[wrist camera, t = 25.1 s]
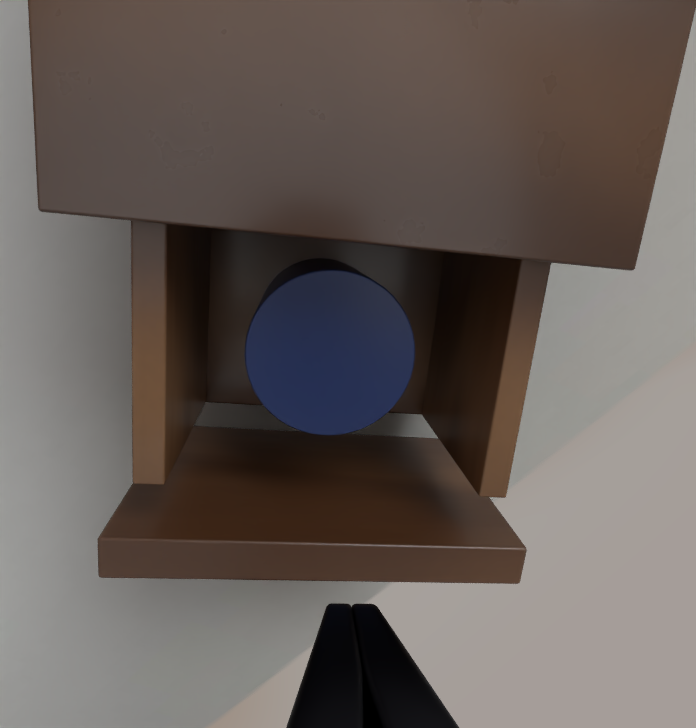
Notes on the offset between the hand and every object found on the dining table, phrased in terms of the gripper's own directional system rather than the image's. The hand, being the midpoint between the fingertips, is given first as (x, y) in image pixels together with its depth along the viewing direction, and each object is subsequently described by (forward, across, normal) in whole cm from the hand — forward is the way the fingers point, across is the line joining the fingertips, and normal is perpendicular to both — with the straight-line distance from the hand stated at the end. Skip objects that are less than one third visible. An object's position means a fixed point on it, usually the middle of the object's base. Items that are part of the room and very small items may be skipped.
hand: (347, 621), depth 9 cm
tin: (+12, 0, -2) cm, 12 cm away
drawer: (+13, 0, -2) cm, 13 cm away
